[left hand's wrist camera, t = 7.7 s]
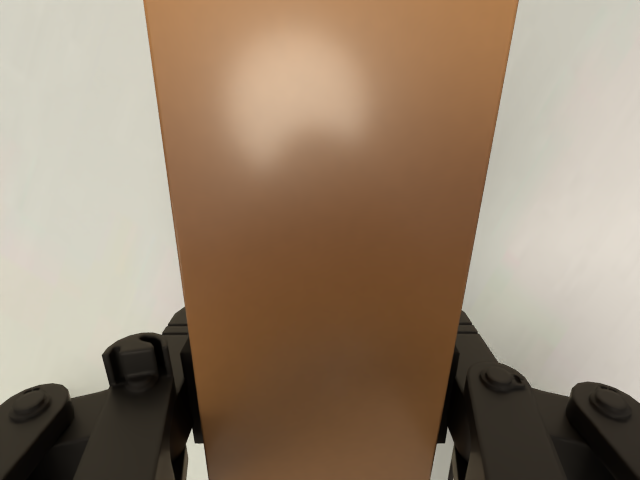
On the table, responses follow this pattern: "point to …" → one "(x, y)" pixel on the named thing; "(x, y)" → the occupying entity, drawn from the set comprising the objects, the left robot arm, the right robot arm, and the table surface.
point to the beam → (325, 219)
